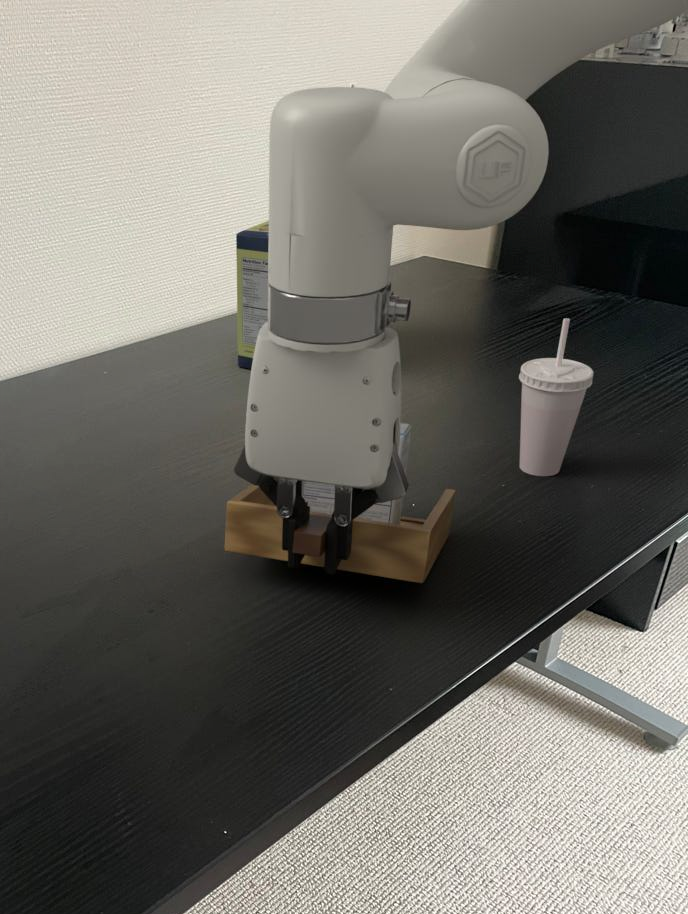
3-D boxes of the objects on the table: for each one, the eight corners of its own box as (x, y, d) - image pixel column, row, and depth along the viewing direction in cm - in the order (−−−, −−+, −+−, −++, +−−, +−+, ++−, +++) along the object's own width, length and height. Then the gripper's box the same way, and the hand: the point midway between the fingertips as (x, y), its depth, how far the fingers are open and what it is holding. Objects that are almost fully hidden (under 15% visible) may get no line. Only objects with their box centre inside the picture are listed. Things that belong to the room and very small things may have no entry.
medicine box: (400, 527, 82) (413, 423, 79) (391, 541, 78) (405, 433, 75) (309, 514, 85) (318, 413, 81) (296, 528, 81) (305, 422, 77)
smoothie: (579, 459, 95) (608, 314, 87) (569, 487, 90) (599, 335, 82) (511, 450, 97) (534, 307, 89) (498, 476, 93) (521, 327, 85)
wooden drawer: (449, 534, 84) (456, 488, 82) (411, 605, 68) (418, 550, 66) (275, 508, 89) (278, 465, 87) (201, 569, 73) (204, 517, 71)
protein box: (368, 343, 125) (377, 213, 116) (312, 382, 114) (316, 242, 105) (296, 332, 130) (298, 206, 121) (235, 368, 119) (233, 232, 110)
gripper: (463, 304, 63) (432, 554, 73) (228, 286, 68) (231, 523, 78) (443, 341, 57) (413, 606, 68) (188, 318, 62) (197, 569, 72)
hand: (315, 560), depth 73 cm, fingers closed on wooden drawer, 2 cm apart
